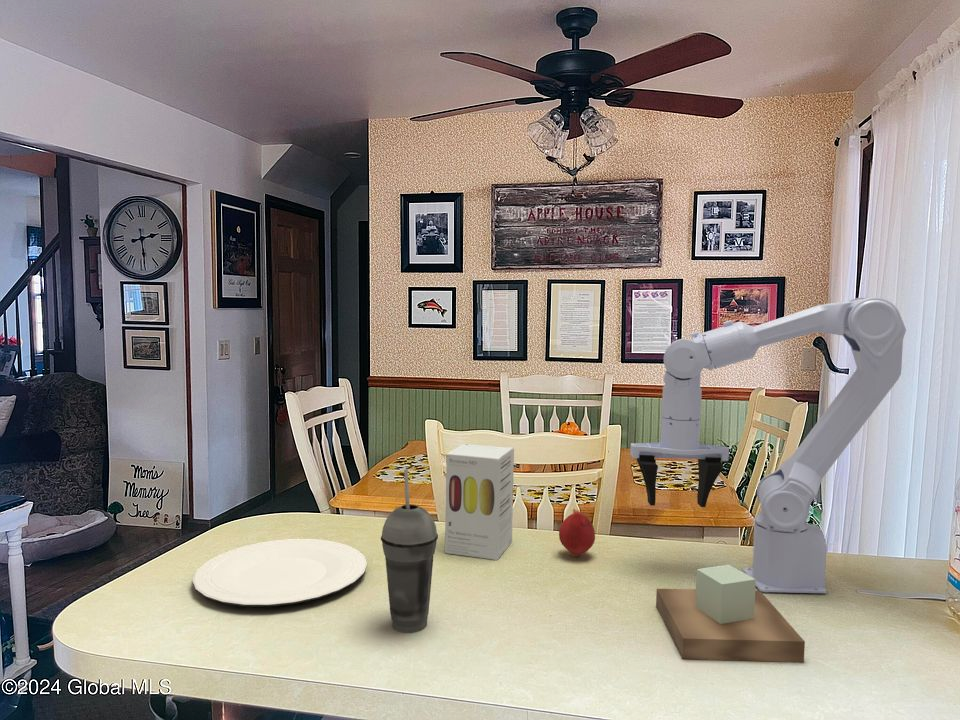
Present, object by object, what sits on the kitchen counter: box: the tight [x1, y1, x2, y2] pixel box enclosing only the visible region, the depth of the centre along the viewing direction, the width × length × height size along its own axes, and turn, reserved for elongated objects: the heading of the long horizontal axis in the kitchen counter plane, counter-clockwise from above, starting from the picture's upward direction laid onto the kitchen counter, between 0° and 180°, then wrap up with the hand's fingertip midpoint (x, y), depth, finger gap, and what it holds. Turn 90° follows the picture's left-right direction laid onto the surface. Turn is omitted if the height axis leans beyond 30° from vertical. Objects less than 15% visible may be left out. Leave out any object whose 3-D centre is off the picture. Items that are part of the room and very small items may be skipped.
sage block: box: [695, 564, 756, 624], centre depth 87 cm, size 5×5×5 cm
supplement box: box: [444, 442, 515, 561], centre depth 116 cm, size 10×9×17 cm
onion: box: [558, 507, 596, 558], centre depth 113 cm, size 6×6×8 cm
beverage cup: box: [380, 469, 439, 634], centre depth 88 cm, size 7×7×20 cm
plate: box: [191, 538, 368, 607], centre depth 103 cm, size 25×25×2 cm
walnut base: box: [655, 588, 806, 663], centre depth 87 cm, size 14×14×2 cm
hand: (676, 504), depth 107 cm, fingers open, 7 cm apart
